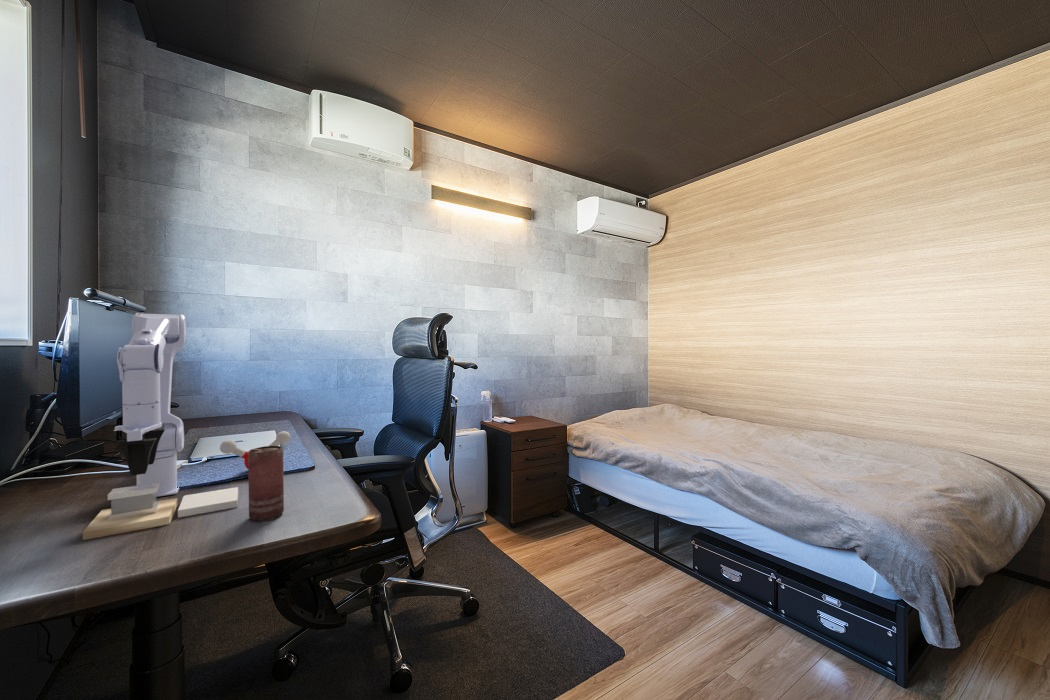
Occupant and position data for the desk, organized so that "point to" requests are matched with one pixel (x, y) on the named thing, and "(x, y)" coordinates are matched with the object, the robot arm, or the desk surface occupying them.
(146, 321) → the robot arm
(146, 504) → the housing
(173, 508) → the stand
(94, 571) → the desk surface
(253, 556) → the desk surface
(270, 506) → the can
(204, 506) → the stand
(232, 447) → the molecular model
